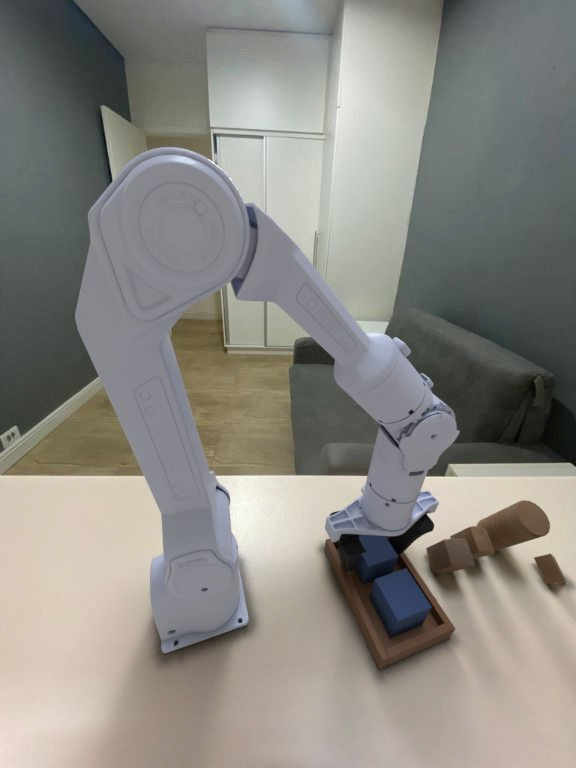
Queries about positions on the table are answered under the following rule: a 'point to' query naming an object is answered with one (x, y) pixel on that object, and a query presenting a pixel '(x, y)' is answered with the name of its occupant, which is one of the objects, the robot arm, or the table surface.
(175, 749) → the table surface
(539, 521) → the wooden block set
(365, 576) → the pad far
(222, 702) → the table surface
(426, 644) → the frame
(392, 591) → the blue cube
